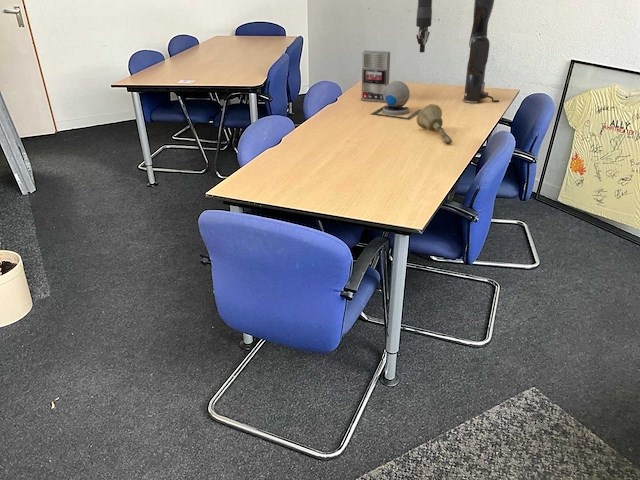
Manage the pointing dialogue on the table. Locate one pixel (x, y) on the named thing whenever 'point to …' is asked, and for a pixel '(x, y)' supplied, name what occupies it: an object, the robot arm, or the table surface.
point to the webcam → (396, 98)
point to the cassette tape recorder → (375, 74)
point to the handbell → (432, 120)
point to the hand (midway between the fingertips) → (422, 52)
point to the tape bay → (394, 116)
